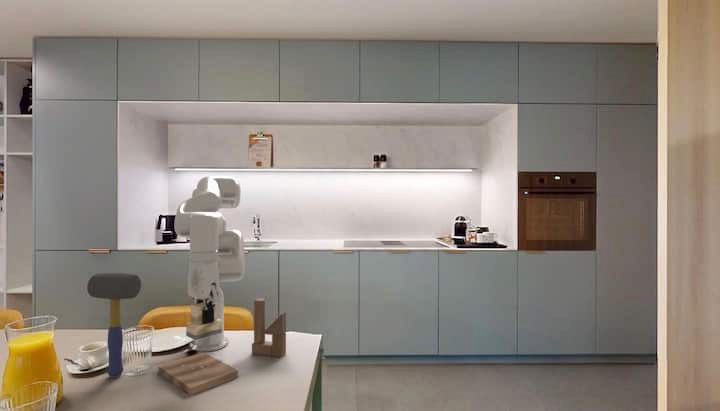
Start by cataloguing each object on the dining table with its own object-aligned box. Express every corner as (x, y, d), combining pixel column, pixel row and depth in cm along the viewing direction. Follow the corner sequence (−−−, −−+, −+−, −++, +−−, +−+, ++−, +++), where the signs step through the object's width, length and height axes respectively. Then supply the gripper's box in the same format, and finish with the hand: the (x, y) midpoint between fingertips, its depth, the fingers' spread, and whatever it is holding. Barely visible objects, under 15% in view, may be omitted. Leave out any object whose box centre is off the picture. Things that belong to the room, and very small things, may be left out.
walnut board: (158, 372, 116) (158, 366, 116) (203, 358, 126) (203, 352, 126) (190, 395, 103) (190, 387, 103) (238, 377, 114) (238, 370, 113)
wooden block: (281, 357, 127) (281, 302, 127) (251, 354, 130) (251, 300, 129) (286, 353, 131) (286, 299, 131) (256, 350, 133) (256, 297, 133)
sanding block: (194, 340, 107) (194, 308, 107) (186, 335, 110) (186, 305, 110) (221, 332, 113) (221, 302, 113) (212, 328, 116) (212, 299, 116)
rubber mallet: (144, 371, 117) (143, 271, 116) (126, 383, 109) (125, 276, 109) (105, 369, 118) (104, 270, 117) (85, 381, 110) (84, 275, 110)
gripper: (177, 255, 114) (177, 318, 114) (206, 261, 103) (206, 331, 103) (202, 253, 119) (202, 313, 120) (232, 258, 109) (232, 324, 109)
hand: (204, 320), depth 111 cm, fingers closed on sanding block, 3 cm apart
